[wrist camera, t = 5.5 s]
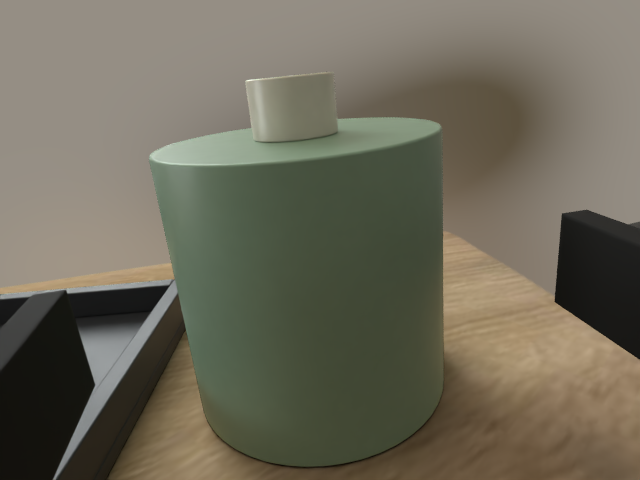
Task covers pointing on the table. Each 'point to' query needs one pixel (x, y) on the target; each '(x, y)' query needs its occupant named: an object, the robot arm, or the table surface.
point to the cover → (309, 273)
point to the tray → (114, 363)
